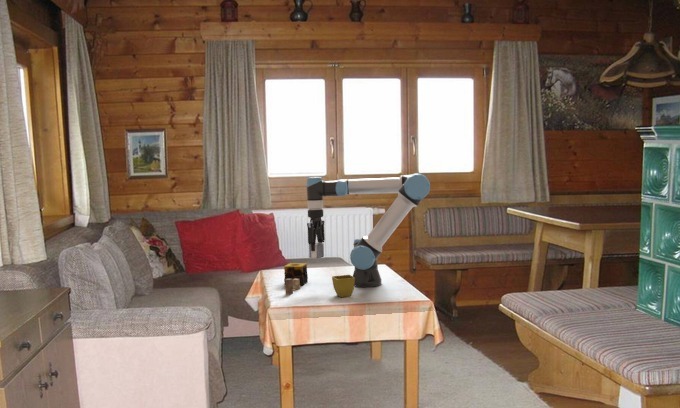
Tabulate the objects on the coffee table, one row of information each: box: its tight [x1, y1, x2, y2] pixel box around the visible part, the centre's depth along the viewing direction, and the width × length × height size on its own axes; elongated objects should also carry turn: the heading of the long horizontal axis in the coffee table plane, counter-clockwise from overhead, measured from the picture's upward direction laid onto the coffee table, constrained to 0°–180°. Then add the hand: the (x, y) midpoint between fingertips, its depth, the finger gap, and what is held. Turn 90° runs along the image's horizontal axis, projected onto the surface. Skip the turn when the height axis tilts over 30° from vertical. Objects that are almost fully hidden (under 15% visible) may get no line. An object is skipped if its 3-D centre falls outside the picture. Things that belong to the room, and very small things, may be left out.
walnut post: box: [284, 279, 294, 295], centre depth 303 cm, size 3×3×7 cm
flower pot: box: [331, 274, 355, 298], centre depth 295 cm, size 9×9×9 cm
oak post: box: [293, 279, 301, 291], centre depth 313 cm, size 3×3×5 cm
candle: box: [283, 262, 309, 287], centre depth 327 cm, size 10×10×10 cm
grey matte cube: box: [308, 242, 325, 259], centre depth 309 cm, size 5×5×7 cm
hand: (317, 256), depth 309 cm, fingers closed on grey matte cube, 5 cm apart
